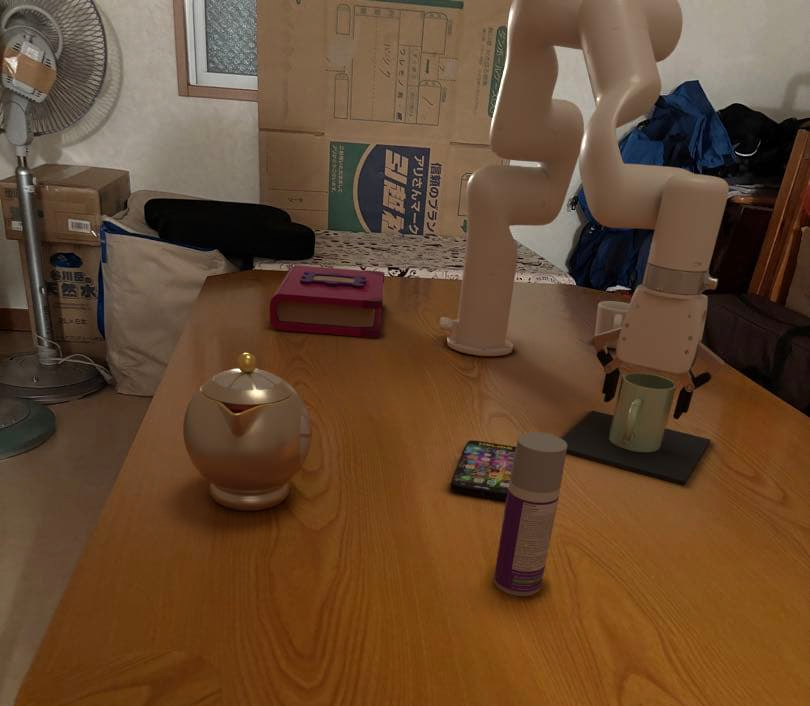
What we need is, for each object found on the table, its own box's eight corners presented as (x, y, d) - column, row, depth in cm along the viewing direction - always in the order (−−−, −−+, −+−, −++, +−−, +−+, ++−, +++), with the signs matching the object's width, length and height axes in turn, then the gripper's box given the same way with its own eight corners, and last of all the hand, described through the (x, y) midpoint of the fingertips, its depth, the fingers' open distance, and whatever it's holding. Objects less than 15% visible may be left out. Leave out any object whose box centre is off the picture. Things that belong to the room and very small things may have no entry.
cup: (631, 357, 151) (641, 316, 147) (590, 351, 152) (599, 310, 148) (629, 343, 160) (638, 303, 156) (590, 338, 161) (598, 299, 157)
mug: (616, 428, 114) (630, 369, 110) (665, 440, 111) (681, 380, 107) (596, 449, 106) (610, 386, 102) (648, 463, 104) (664, 399, 99)
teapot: (303, 531, 82) (306, 381, 73) (173, 523, 81) (160, 371, 73) (317, 461, 97) (321, 331, 89) (208, 454, 96) (201, 322, 88)
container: (489, 569, 78) (511, 430, 70) (534, 570, 78) (561, 432, 71) (498, 596, 74) (522, 451, 66) (545, 597, 74) (575, 453, 67)
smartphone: (448, 484, 92) (467, 438, 105) (447, 491, 92) (466, 445, 105) (513, 495, 91) (525, 448, 103) (512, 502, 91) (524, 454, 104)
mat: (552, 449, 107) (553, 445, 106) (591, 413, 121) (592, 410, 120) (684, 485, 100) (685, 481, 99) (709, 443, 114) (710, 439, 113)
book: (269, 330, 147) (269, 289, 143) (288, 296, 171) (288, 261, 168) (379, 338, 148) (382, 298, 144) (383, 304, 172) (385, 269, 168)
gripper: (748, 288, 98) (711, 415, 107) (616, 265, 105) (590, 387, 114) (739, 298, 93) (700, 431, 101) (599, 273, 99) (574, 400, 108)
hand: (642, 407), depth 107 cm, fingers open, 9 cm apart
